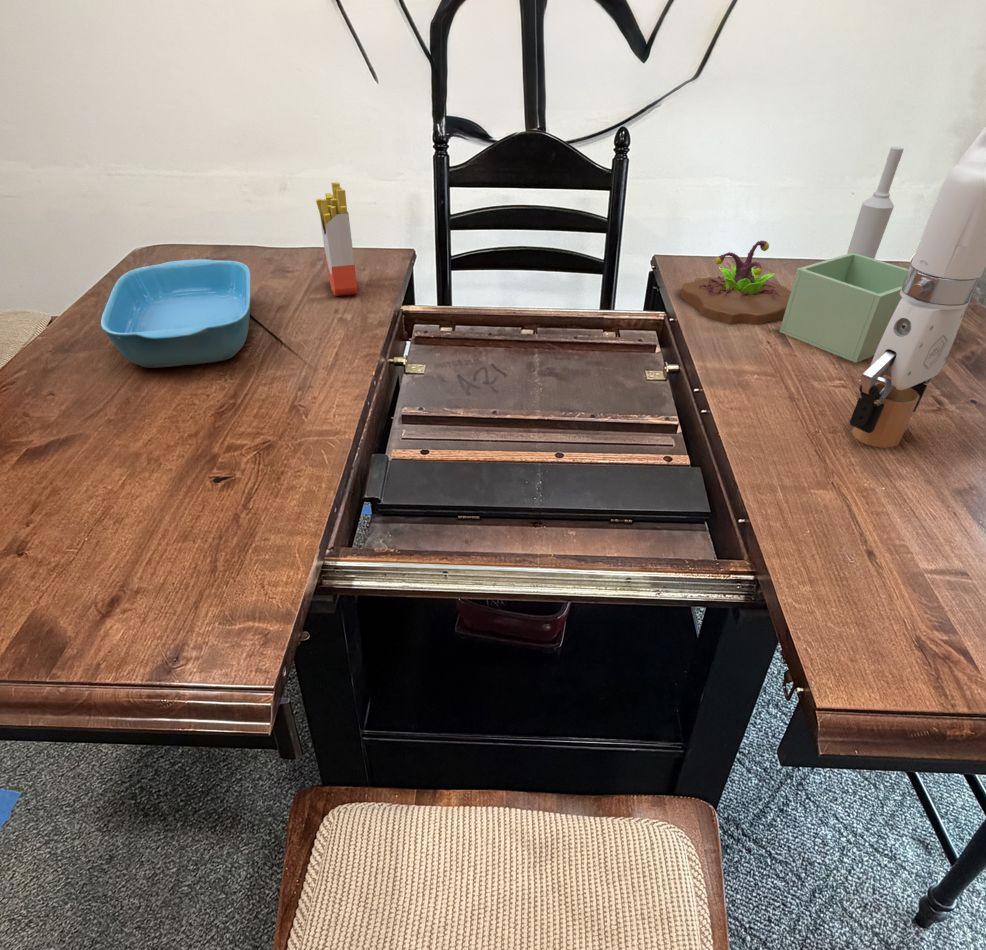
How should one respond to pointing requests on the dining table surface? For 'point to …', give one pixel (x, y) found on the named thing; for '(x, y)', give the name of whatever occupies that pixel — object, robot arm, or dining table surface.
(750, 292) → the plant
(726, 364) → the dining table surface
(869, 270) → the bin
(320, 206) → the french fries container
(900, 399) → the paper cup
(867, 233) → the bottle
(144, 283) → the casserole dish
